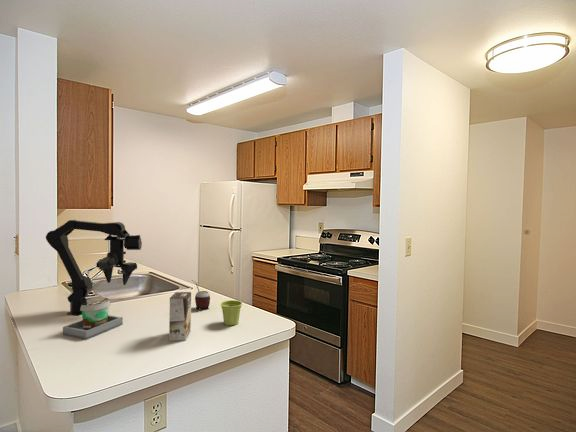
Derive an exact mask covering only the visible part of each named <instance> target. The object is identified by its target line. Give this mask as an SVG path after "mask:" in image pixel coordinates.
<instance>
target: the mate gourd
mask: <svg viewBox="0 0 576 432" xmlns="http://www.w3.org/2000/svg"><path fill="white" fill-rule="evenodd" d="M191 281H192V282H194V283H195V286H196V288H197V292H196V293H195V296H194V302H195V309H196V310H199V312H202V311H203V310H210V308H209V306H210V304H211V303H210V301H211V296H210V292H209V291H207V290H206V291H205V290H202V291H200V289H199V286H198V285H199V284H198V283H197V282H196V280H193V279H192V280H191Z"/></svg>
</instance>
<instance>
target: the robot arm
mask: <svg viewBox="0 0 576 432" xmlns="http://www.w3.org/2000/svg"><path fill="white" fill-rule="evenodd" d="M75 230H80V231H81V230H82V231H91V232H99V233H100V232H101V233H104V234H106V235H107V236H106V238H104V241H109V252H107V254H106V256H105V257H103V258H102V259H100V260H98V261H97V262H96V264H95V265H96V266H95V267H96V268H97V269H99V270H100V271H102V272H103V274H104V276H105V277H104V278H105V279H106V282H107V283H108V284H110V283H111V281H112V278H113V277H112V276H113V271H114V268H120V273H121V274H122V285H123V286H125V285H127V283H128V281H129V279H130V277H131V275H132V274H133V272H134V271H135V270H137V269H138V264H137V262H130V261H128V262H127V261H126V260H125V259H124V258H125V256H124V255H126V254H127V253H126V251H125V249H126V250H127V251H140V250H142V247H143V244H142V243H143V241H142V238H141V235H140V234H137V235H134V234H133V235H132V234H130V233H129V232H128V231H127V230H126V227H125V224H124V223H122V222H120V221H117V222H115V221H113V222H97V221H85V220H76V219H70V220H68V221H66V222H65V223H64V224H62V225H60V226H59V227H57V228H55V229H53V230H50V231H48V232H47V233H46V235H45V240H46V242H47V243H48V245H50V247H51V248H52V249H54V251H56V252H57V254H58V256H59V258H60V260H61V262H62V264H63V266H64V268H65V271H66V272H67V274H68V276H69V277H70V278H69V279H70V280H71V289H72V293H71V294H69V295H68V296H67V301H68V303H70V305H69V306H70V307H69V309H70V311H68V312H66V314H68V315H71V316H72V315H73V316H80V315H82V311H80V308H81V305H88V302H87V301H88V300H87V297H88V296H89V294H90V293H91V292H92V291H93V288H94V287H93V285H94V283H93V281H92V280H91V278H90V276H87V277H85V275H83V273H82V271H81V269H80V267H79V265H78V263H77V261H76V259H75V257H74V255H73V253H72V251H71V249H70V247H69V238H68V236H69V235H70V234H72V233H73V231H75Z"/></svg>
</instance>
